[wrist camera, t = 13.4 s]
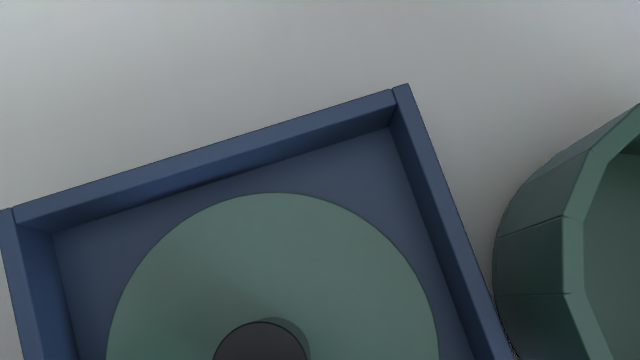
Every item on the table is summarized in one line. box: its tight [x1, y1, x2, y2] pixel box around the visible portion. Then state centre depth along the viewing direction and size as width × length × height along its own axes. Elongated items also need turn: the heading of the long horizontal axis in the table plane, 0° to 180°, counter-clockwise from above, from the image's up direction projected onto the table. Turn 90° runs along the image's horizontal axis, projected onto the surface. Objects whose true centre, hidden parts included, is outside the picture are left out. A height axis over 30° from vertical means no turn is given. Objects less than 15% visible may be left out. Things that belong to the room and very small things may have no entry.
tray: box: [0, 83, 515, 360], centre depth 18 cm, size 14×14×3 cm
